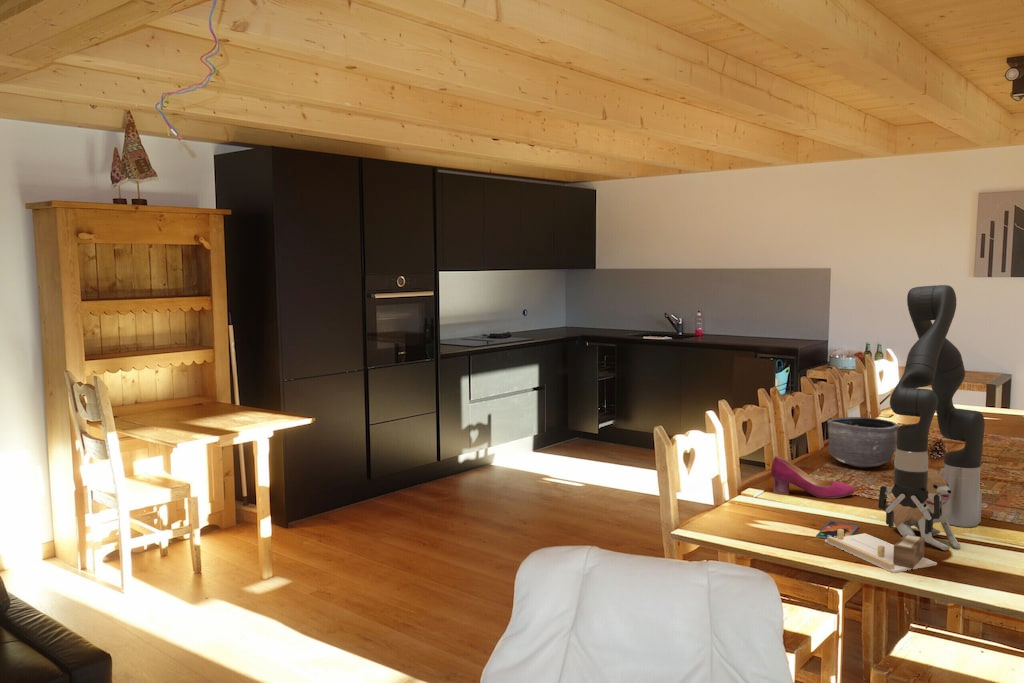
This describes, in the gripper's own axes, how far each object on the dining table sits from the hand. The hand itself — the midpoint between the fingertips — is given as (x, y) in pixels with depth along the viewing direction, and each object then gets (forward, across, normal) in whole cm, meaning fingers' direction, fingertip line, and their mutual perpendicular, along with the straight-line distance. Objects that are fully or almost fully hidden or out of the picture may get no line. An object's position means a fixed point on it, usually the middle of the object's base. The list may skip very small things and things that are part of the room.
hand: (908, 529), depth 203 cm
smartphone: (+9, +22, -13) cm, 27 cm away
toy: (+8, +3, -23) cm, 25 cm away
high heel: (+8, +40, -46) cm, 61 cm away
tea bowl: (+8, +40, -94) cm, 102 cm away
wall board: (+8, +8, -3) cm, 12 cm away
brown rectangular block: (+8, 0, 0) cm, 8 cm away
